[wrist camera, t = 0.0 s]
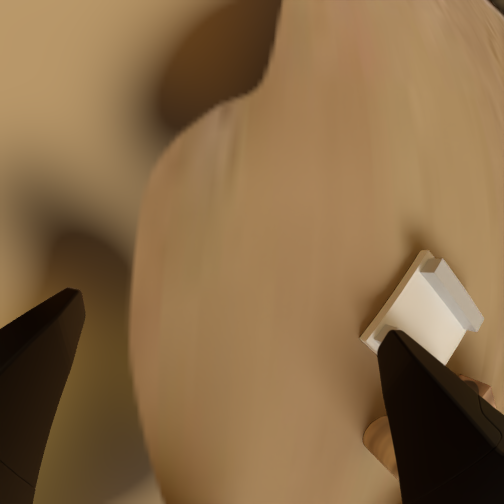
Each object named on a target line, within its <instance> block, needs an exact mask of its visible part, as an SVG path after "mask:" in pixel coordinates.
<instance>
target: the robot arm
mask: <svg viewBox="0 0 504 504" xmlns="http://www.w3.org/2000/svg"><path fill="white" fill-rule="evenodd" d="M84 321H85V308H84V302H83V296H82V292H81V291H80V290H79V289H74V288H66V289H64V290H62V291H60V292H59V293H57V294H55V295H54V296H52V297H50V298H49V299H47V300H46V301H44V302H42V303H41V304H39V305H37V306H36V307H34V308H32V309H31V310H29V311H28V312H26V313H25V314H23V315H21V316H20V317H18V318H17V319H15V320H13V321H12V322H11V323H9V324H7V325H6V326H4V327H3V328H1V329H0V504H33V498H34V494H35V488H36V483H37V479H38V474H39V470H40V466H41V462H42V458H43V454H44V450H45V447H46V443H47V440H48V436H49V433H50V429H51V426H52V422H53V419H54V416H55V413H56V410H57V407H58V404H59V401H60V398H61V395H62V392H63V389H64V386H65V384H66V381H67V378H68V375H69V373H70V370H71V367H72V363H73V360H74V357H75V353H76V349H77V345H78V341H79V338H80V334H81V331H82V328H83V324H84ZM377 357H378V364H379V371H380V378H381V386H382V393H383V399H384V403H385V408H386V413H387V417H388V422H389V427H390V432H391V437H392V442H393V447H394V453H395V458H396V464H397V470H398V476H399V483H400V490H401V497H402V504H504V415H503V414H502V413H501V412H499V411H498V410H497V409H495V408H494V407H493V406H492V405H491V404H490V403H488V402H487V401H486V400H485V399H484V398H483V397H481V396H480V395H479V394H477V392H476V391H474V390H473V389H472V388H471V387H470V386H469V385H467V384H466V383H465V382H464V381H463V380H462V379H460V378H459V377H458V376H457V375H456V374H454V373H453V372H452V371H451V370H450V369H449V368H447V367H446V366H445V365H444V364H443V363H441V362H440V361H439V360H438V359H437V358H435V357H434V356H433V355H432V354H431V353H429V352H428V351H427V350H426V349H425V348H423V347H422V346H421V345H420V344H418V343H417V342H416V341H415V340H414V339H412V338H411V337H410V336H409V335H407V334H406V333H405V332H404V331H402V330H394V329H392V330H390V331H388V333H387V334H386V336H385V338H384V339H383V341H382V342H381V344H380V346H379V347H378V351H377Z"/></svg>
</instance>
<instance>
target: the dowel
mask: <svg viewBox="0 0 504 504" xmlns="http://www.w3.org/2000/svg"><path fill="white" fill-rule="evenodd" d="M363 443H364V445H365V447H366V448H367V449H368V450H369V451H370V452H371V453H372V454H373V455H374V456H375V457H376V458H377V459H378V460H379V461H380V462H381V463H382V464H383V465H384V466H385V467H386V468H387V469H388V470H389V471H390V472H391V473H392V474H393V475H394V476H395V477H396V478H397V479H398V480H399V476H398V470H397V464H396V458H395V453H394V447H393V442H392V437H391V432H390V427H389V422H388V417H387V416H383V417H380V418H378V419H377V420H375V421H374V422H373V423H371V424H370V425H369V427H368V428H367V429H366V431H365V433H364V436H363Z"/></svg>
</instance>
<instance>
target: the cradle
mask: <svg viewBox="0 0 504 504" xmlns="http://www.w3.org/2000/svg"><path fill="white" fill-rule="evenodd" d="M483 320H484V317H483V316H482V314H481V313H480V311H479V309H478V308H477V306H476V305H475V303H474V302H473V300H472V299H471V297H470V296H469V294H468V293H467V291H466V290H465V288H464V287H463V285H462V284H461V283H460V281H459V280H458V278H457V277H456V276H455V274H454V273H453V271H452V270H451V269H450V267H449V266H448V265H447V263H446V262H445V260H444V259H443V258H435V257H434V256H433V255H432V254H431V252H430V251H429V250H421V251H420V252H419V254H418V255H417V257H416V259H415V260H414V262H413V263H412V265H411V266H410V268H409V269H408V271H407V273H406V274H405V276H404V277H403V279H402V280H401V282H400V283H399V284H398V286H397V287H396V289H395V290H394V292H393V293H392V295H391V296H390V297H389V299H388V300H387V302H386V303H385V305H384V306H383V307H382V309H381V310H380V311H379V313H378V314H377V316H376V317H375V318H374V320H373V321H372V322H371V324H370V325H369V326H368V328H367V329H366V330H365V331H364V333H363V334H362V335H361V337H360V338H359V339H360V340H361V341H362V342H363V343H364V344H365V345H367V346H368V347H369V348H370V349H371V350H372V351H373V352H374V353H375V354H376V355H377V351H378V347H379V346H380V344H381V342H382V341H383V339H384V338H385V336H386V334H387V333H388V331H390V330H392V329H394V330H402V331H404V332H405V333H406V334H407V335H409V336H410V337H411V338H412V339H414V340H415V341H416V342H417V343H418V344H420V345H421V346H422V347H423V348H425V349H426V350H427V351H428V352H429V353H431V354H432V355H433V356H434V357H435V358H437V359H438V360H439V361H440V362H441V363H443V364H444V365H446V363H447V362H448V360H449V359H450V357H451V356H452V354H453V352H454V351H455V349H456V348H457V346H458V344H459V343H460V341H461V339H462V338H463V336H464V334H465V332H466V331H467V330H469V331H474V332H478V330H479V328H480V326H481V324H482V322H483Z"/></svg>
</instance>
